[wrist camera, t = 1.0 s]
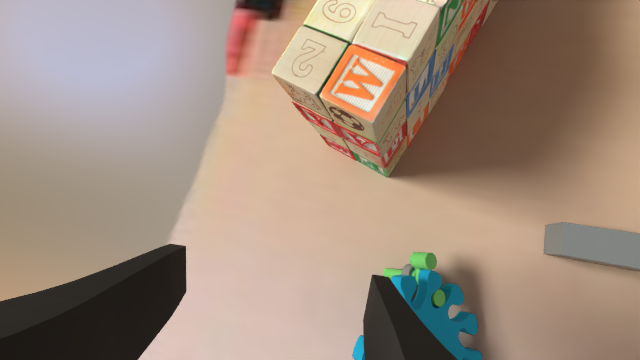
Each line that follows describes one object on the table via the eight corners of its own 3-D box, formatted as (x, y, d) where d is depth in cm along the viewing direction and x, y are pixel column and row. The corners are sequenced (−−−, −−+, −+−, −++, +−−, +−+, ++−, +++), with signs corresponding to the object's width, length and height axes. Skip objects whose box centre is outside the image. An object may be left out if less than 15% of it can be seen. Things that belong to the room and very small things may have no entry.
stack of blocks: (449, -48, 28) (478, -259, 16) (519, -32, 26) (610, -262, 14) (327, 147, 27) (266, 71, 15) (388, 180, 25) (371, 122, 13)
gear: (489, 460, 18) (354, 479, 14) (413, 411, 23) (298, 414, 19) (492, 269, 21) (385, 236, 17) (426, 264, 26) (330, 237, 22)
